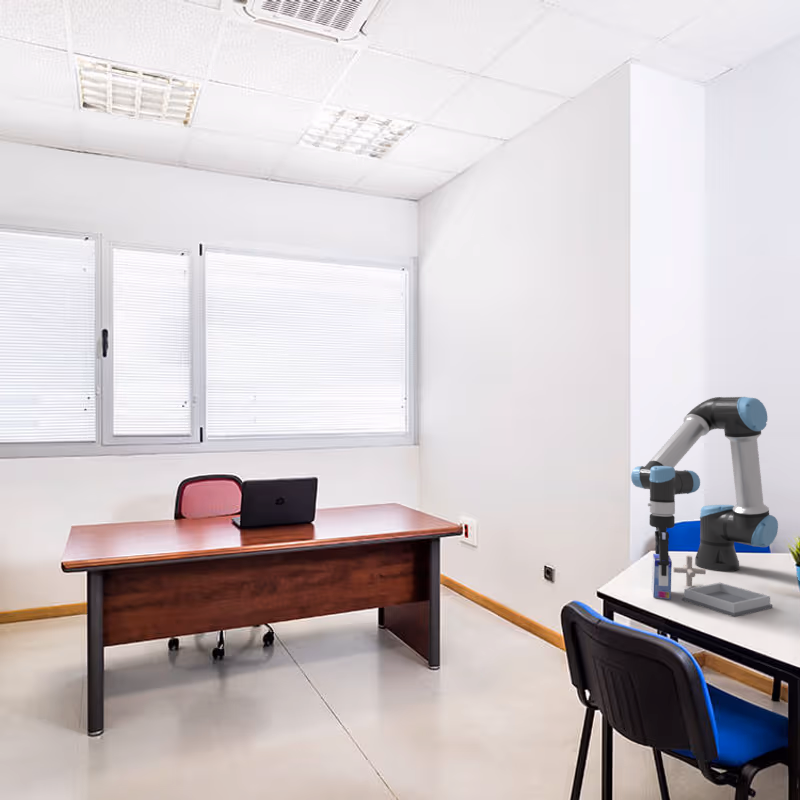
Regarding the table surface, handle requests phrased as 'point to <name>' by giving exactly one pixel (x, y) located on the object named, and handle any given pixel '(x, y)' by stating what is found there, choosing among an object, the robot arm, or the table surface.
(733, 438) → the robot arm
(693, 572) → the pipe connector
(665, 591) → the ink cartridge box
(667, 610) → the table surface
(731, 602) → the cartridge dock
